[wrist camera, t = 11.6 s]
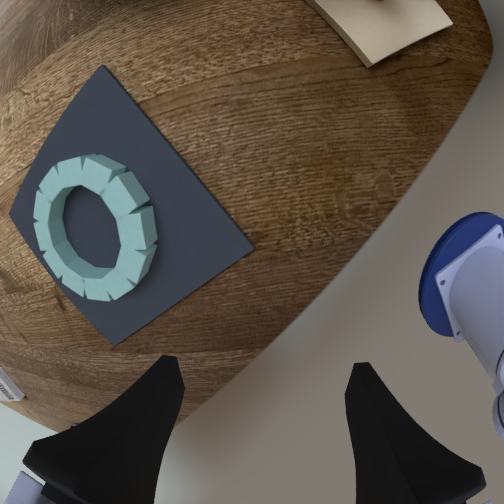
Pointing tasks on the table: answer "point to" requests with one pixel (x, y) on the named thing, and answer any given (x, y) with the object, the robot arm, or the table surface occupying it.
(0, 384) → the book
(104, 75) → the felt mat
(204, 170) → the table surface
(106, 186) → the ring
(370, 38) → the ring toss stand
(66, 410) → the table surface
